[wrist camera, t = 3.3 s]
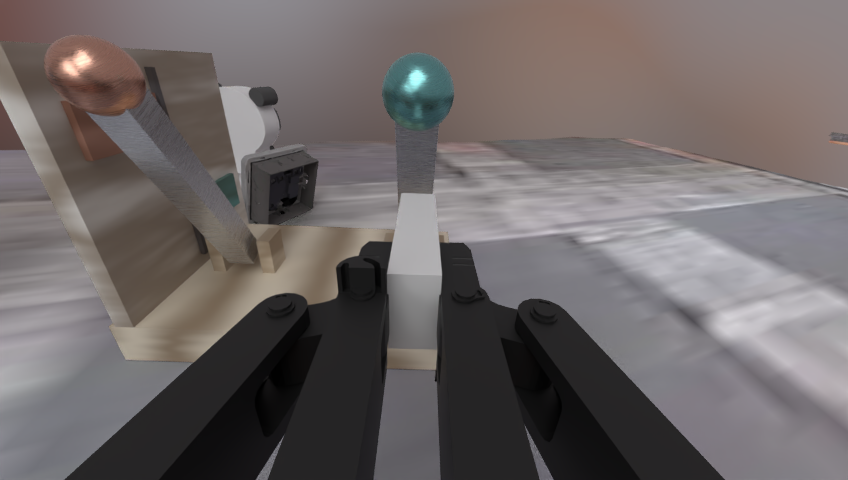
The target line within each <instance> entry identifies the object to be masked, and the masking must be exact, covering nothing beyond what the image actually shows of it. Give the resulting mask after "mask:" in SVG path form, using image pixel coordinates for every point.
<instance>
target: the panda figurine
mask: <svg viewBox="0 0 848 480" xmlns="http://www.w3.org/2000/svg"><path fill="white" fill-rule="evenodd" d="M218 85H219V89H220V94H221V98H222V103H223V108H224V112H225V117H226V121H227V126H228V130H229V135H230V140H231V144H232V149H233V153H234V158H235V163H236V167H237V172H238V176H239V181H240V185H241V160H242V158H243V157H244V156H245V155H249V154H254V153H258V152H263V151H268V150H272V149H274V147H273V146H271V145H272V144H273V143H274V142H275V140H276V139H277V136H278V134H279V131H280V128H281V125H280V120H279V116H278V114H277V112H276V110H275V109H274V108H273V107H272V105H275V104H276V103H277V101H278V97H277V94H276V92H275V90H274V89H272V88H271V87H259V88H249V87H244V86H230V87H222V86H221V85H220V84H219V83H218Z"/></svg>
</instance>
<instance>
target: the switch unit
mask: <svg viewBox="0 0 848 480" xmlns="http://www.w3.org/2000/svg"><path fill="white" fill-rule="evenodd" d="M50 45H51V44H40V43H23V42H6V41H5V42H4V41H0V99H1V101H2V103H3V105H4V107H5V109H6V111H7V113H8V115H9V117H10V119H11V121H12V123H13V125H14V127H15V129H16V131H17V133H18V135H19V137H20V139H21V141H22V143H23V145H24V147H25V149H26V151H27V153H28V155H29V157H30V159H31V161H32V163H33V165H34V167H35V169H36V171H37V173H38V175H39V177H40V179H41V181H42V183H43V185H44V187H45V189H46V191H47V193H48V195H49V197H50V199H51V201H52V203H53V205H54V207H55V209H56V211H57V213H58V215H59V217H60V219H61V221H62V223H63V225H64V227H65V229H66V231H67V233H68V234H69V236H70V238H71V240H72V242H73V244H74V246H75V248H76V250H77V252H78V254H79V256H80V258H81V260H82V262H83V264H84V266H85V268H86V270H87V272H88V274H89V276H90V278H91V280H92V282H93V284H94V286H95V288H96V290H97V292H98V294H99V296H100V298H101V300H102V302H103V304H104V306H105V308H106V310H107V312H108V314H109V316H110V318H111V320H112V322H113V324H111V325H110V326H109V328H110V330H111V332H112V334H113V336H114V338H115V340H116V342H117V344H118V346H119V348H120V349H121V351H122V353H123V355H124V357H125V359H126V360H143V361H173V362H195V361H196V360H197V359H198V358H199V357H200V356H201V355H202V354H204V353H205V352H206V351H207V350H208V349H209V348H210V347H211V346H212V345H213V344H215V343H216V342H217V341H218V340H219V339H220V338H221V337H222V336H223V335H225V334H226V333H227V332H228V331H229V330H230V329H231V328H232V327H233V326H234V325H236V324H237V323H238V322H239V321H240V320H241V319H242V318H243V317H244V316H245V315H247V314H248V313H249V312H250V311H251V310H252V309H253V308H254V307H255V306H256V305H258V304H259V303H260V302H262V301H263V300H265V299H266V298H268V297H271V296H274V295H276V294H282V293H296V294H299V295H302V296H303V297H304V298H305V299H306V300H307V303H308V305H311V304H317V303H322V302H326V301H330V300H332V299H335V298H336V297H337V295H338V284H337V274H336V266H337V265H338V264H339V263H340V262H341V261H343V260H345V259H346V258H350V257H354V256H359V253H360V250H361V247H363V246H364V245H365V244H366V243H367V242H369V241H383V242H393V237H394V232H395V230H388V229H364V228H340V227H316V226H292V225H268V224H249V222H248V218H247V213H246V208H245V204H244V199H243V195H242V190H241V185H240V181H239V176H238V172H237V167H236V163H235V158H234V153H233V149H232V144H231V140H230V135H229V130H228V126H227V121H226V117H225V112H224V108H223V103H222V98H221V94H220V89H219V85H218V80H217V76H216V71H215V67H214V62H213V57H212V53H200V52H183V51H182V52H181V51H165V50H164V51H163V50H146V49H130V48H121V49H123V50H124V51H125V52H126V53H128V54H129V55H130V56H131V57H132V58H133V59H134V60H135V61H136V63H137V64H138V65H139V67H140V69H141V70H142V72H143V74H144V77H145V80H146V87H147V88H148V89H149V91H150V92H151V94H152V95H153V96H154V98H155V99H156V101H157V102H158V103H159V105H160V106H161V108H162V109H163V110H164V112H165V113H166V114H167V116H168V117H169V119H170V120H171V121H172V123H173V124H174V126H175V127H176V128H177V130H178V131H179V133H180V134H181V135H182V137H183V138H184V139H185V141H186V142H187V144H188V145H189V146H190V148H191V149H192V151H193V152H194V153H195V155H196V156H197V158H198V159H199V160H200V162H201V163H202V164H203V166H204V167H205V169H206V170H207V171H208V173H209V174H210V176H211V177H212V178H213V180H214V181H215V183H216V184H217V185H218V187H219V188H220V189H221V191H222V192H223V194H224V195H225V196H226V198H227V199H228V201H229V202H230V203H231V205H232V206H233V208H234V209H235V210H236V212H237V213H238V214H239V216H240V217H241V219H242V220H243V221H244V223H245V224H246V226H247V227H248V228H249V230H250V231H251V233H252V234H253V235H254V237H255V238H256V239H257V241H256V243H257V248H258V254H257V257H256V260H255V263H254V264H245V263H229V262H228V261H227V260H226V259H225V258H224V257H223V256H222V254H221V253H220V252H219V251H218V250H217V249H216V248H215V247H214V246H213V245H212V244H211V243H210V242H209V241H208V240H207V239H206V238H205V237H204V236H203V235H202V234H201V232H200V231H199V230H198V229H197V228H196V227H195V226H194V225H193V224H192V223H191V222H190V221H189V220H188V219H187V218H186V217H185V216H184V215H183V214H182V213H181V211H180V210H179V209H178V208H177V207H176V206H175V205H174V204H173V203H172V202H171V201H170V200H169V199H168V198H167V197H166V196H165V195H164V194H163V193H162V192H161V191H160V189H159V188H158V187H157V186H156V185H155V184H154V183H153V182H152V181H151V180H150V179H149V178H148V177H147V176H146V175H145V174H144V173H143V172H142V171H141V170H140V169H139V167H138V166H137V165H136V164H135V163H134V162H133V161H132V160H131V159H130V158H129V157H128V156H127V155H126V154H125V153H124V152H123V151H122V150H121V149H120V148H119V146H118V145H117V144H116V143H115V142H114V141H113V140H112V139H111V138H110V137H109V136H108V135H107V134H106V133H105V132H104V131H103V130H102V129H101V128H100V127H99V126H98V124H97V123H96V122H95V121H94V120H93V119H92V118H91V117H90V116H89V115H88V114H87V113H86V112H85V111H83V110H81V109H79V108H77V107H75V106H74V105H72V104H70V103H69V102H68V101H66V100H65V99H64V98H62V97H61V96H60V95H59V94H58V93H57V92H56V90H55V89H54V88H53V87H52V85H51V84H50V82H49V80H48V78H47V76H46V73H45V70H44V57H45V54H46V51H47V50H48V48H49V47H50ZM438 234H439V242H445V243H449V239H448V232H438ZM436 361H437V350H433V349H395V348H387V369H416V370H436Z"/></svg>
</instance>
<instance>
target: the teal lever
mask: <svg viewBox="0 0 848 480" xmlns="http://www.w3.org/2000/svg"><path fill="white" fill-rule="evenodd" d="M382 96H383V102H384V106H385V108H386V110H387V112H388V114H389V115H390V117H391V118H392V119H393V120H394V121H395V133H396V158H397V182H398V207H399V204H400V199H401V193H416V194H432V193H433V183H434V172H435V161H436V151H437V139H438V128H439V124H440V123H441V122H442V121H443V120H444V119H445V117H446V116H447V115H448V113H449V111H450V109H451V107H452V103H453V99H454V86H453V81H452V78H451V75H450V73H449V72H448V70H447V68H446V67H445V66H444V65H443V63H442V62H441V61H439V60H438V59H437V58H435V57H433V56H431V55H429V54H425V53H410V54H407V55H405V56H402V57H401V58H399V59H398V60H396V61H395V62H394V63H393V64H392V66H391V67H390V68H389V69H388V71H387V73H386V75H385V78H384V81H383V87H382Z"/></svg>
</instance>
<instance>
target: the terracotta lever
mask: <svg viewBox="0 0 848 480" xmlns="http://www.w3.org/2000/svg"><path fill="white" fill-rule="evenodd" d="M44 70H45V73H46V76H47V78H48V80H49V82H50V84H51V85H52V87H53V88H54V89H55V90H56V92H57V93H58V94H59V95H60V96H61V97H62V98H64V99H65V100H66V101H68V102H69V103H70V104H72V105H74V106H75V107H77V108H79V109H81V110H83V111H85V112H86V113H87V114H88V115H89V116H90V117H91V118H92V119H93V120H94V121H95V122H96V123H97V124H98V126H99V127H100V128H101V129H102V130H103V131H104V132H105V133H106V134H107V135H108V136H109V137H110V138H111V139H112V140H113V141H114V142H115V143H116V144H117V145H118V146H119V148H120V149H121V150H122V151H123V152H124V153H125V154H126V155H127V156H128V157H129V158H130V159H131V160H132V161H133V162H134V163H135V164H136V165H137V166H138V167H139V169H140V170H141V171H142V172H143V173H144V174H145V175H146V176H147V177H148V178H149V179H150V180H151V181H152V182H153V183H154V184H155V185H156V186H157V187H158V188H159V189H160V191H161V192H162V193H163V194H164V195H165V196H166V197H167V198H168V199H169V200H170V201H171V202H172V203H173V204H174V205H175V206H176V207H177V208H178V209H179V210H180V211H181V213H182V214H183V215H184V216H185V217H186V218H187V219H188V220H189V221H190V222H191V223H192V224H193V225H194V226H195V227H196V228H197V229H198V230H199V231H200V232H201V234H202V235H203V236H204V237H205V238H206V239H207V240H208V241H209V242H210V243H211V244H212V245H213V246H214V247H215V248H216V249H217V250H218V251H219V252H220V253H221V254H222V256H223V257H224V258H225V259H226V260H227V261H228V262H229V263H245V264H254V263H255V260H256V257H257V254H258V248H257V243H256V241H257V239H256V238H255V237H254V235H253V234H252V233H251V231H250V230H249V228H248V227H247V226H246V224H245V223H244V221H243V220H242V219H241V217H240V216H239V214H238V213H237V212H236V210H235V209H234V208H233V206H232V205H231V203H230V202H229V201H228V199H227V198H226V196H225V195H224V194H223V192H222V191H221V189H220V188H219V187H218V185H217V184H216V183H215V181H214V180H213V178H212V177H211V176H210V174H209V173H208V171H207V170H206V169H205V167H204V166H203V164H202V163H201V162H200V160H199V159H198V158H197V156H196V155H195V153H194V152H193V151H192V149H191V148H190V146H189V145H188V144H187V142H186V141H185V139H184V138H183V137H182V135H181V134H180V133H179V131H178V130H177V128H176V127H175V126H174V124H173V123H172V121H171V120H170V119H169V117H168V116H167V114H166V113H165V112H164V110H163V109H162V108H161V106H160V105H159V103H158V102H157V101H156V99H155V98H154V96H153V95H152V94H151V92H150V91H149V89H148V88H147V87H146V80H145V77H144V74H143V72H142V70H141V69H140V67H139V65H138V64H137V63H136V61H135V60H134V59H133V58H132V57H131V56H130V55H129V54H128V53H126V52H125V51H124V50H123V49H121V48H120V47H118V46H116V45H115V44H113V43H111V42H109V41H106V40H104V39H101V38H98V37H94V36H88V35H70V36H66V37H63V38H60V39H58V40H57V41H55V42H54V43H53V44H51V45H50V47H49V48H48V50H47V51H46V54H45V57H44Z"/></svg>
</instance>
